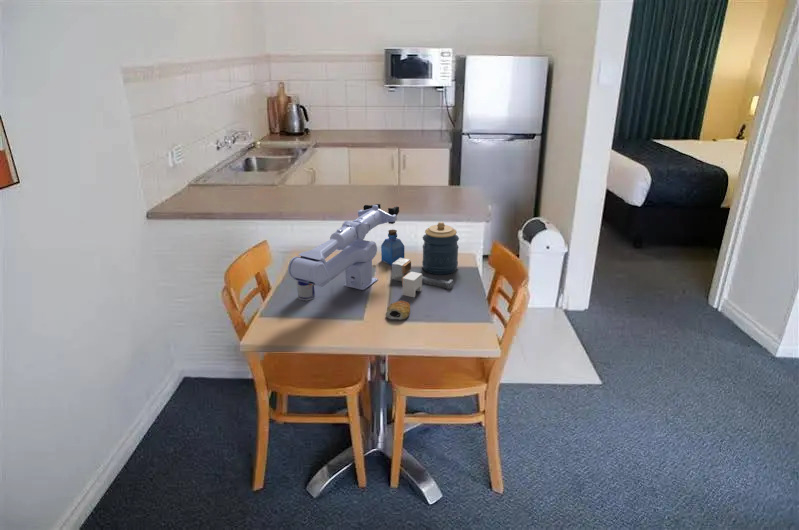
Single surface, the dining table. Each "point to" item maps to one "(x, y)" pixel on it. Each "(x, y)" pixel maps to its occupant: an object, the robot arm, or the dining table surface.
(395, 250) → the perfume bottle
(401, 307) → the pastry
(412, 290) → the white cube orange side
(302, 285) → the energy drink
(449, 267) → the canister
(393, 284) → the dining table surface
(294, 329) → the dining table surface
